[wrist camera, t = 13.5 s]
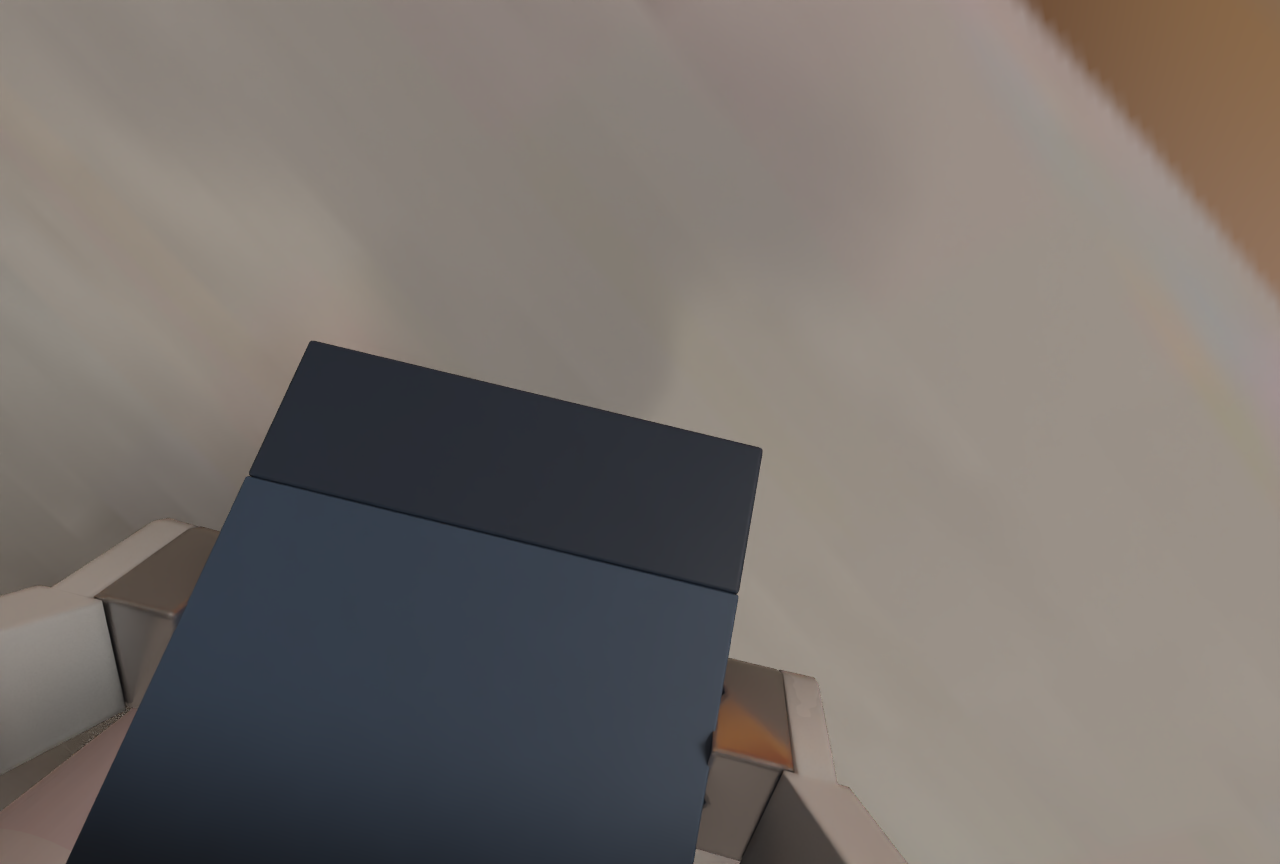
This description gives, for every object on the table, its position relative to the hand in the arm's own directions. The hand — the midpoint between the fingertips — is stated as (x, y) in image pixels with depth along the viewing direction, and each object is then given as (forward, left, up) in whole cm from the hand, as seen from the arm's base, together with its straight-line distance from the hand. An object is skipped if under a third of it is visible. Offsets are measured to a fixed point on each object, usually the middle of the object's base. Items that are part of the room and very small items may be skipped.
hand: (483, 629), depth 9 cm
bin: (-1, -4, -3) cm, 5 cm away
